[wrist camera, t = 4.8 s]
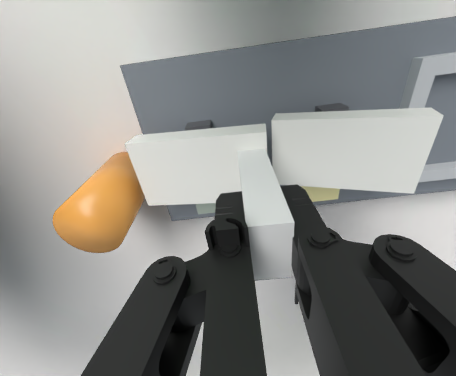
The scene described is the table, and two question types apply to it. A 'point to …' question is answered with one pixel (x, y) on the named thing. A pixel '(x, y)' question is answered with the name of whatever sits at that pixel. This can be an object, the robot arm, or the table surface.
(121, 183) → the pin
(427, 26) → the panel
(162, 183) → the block
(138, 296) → the robot arm
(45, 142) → the table surface
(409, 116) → the breaker
